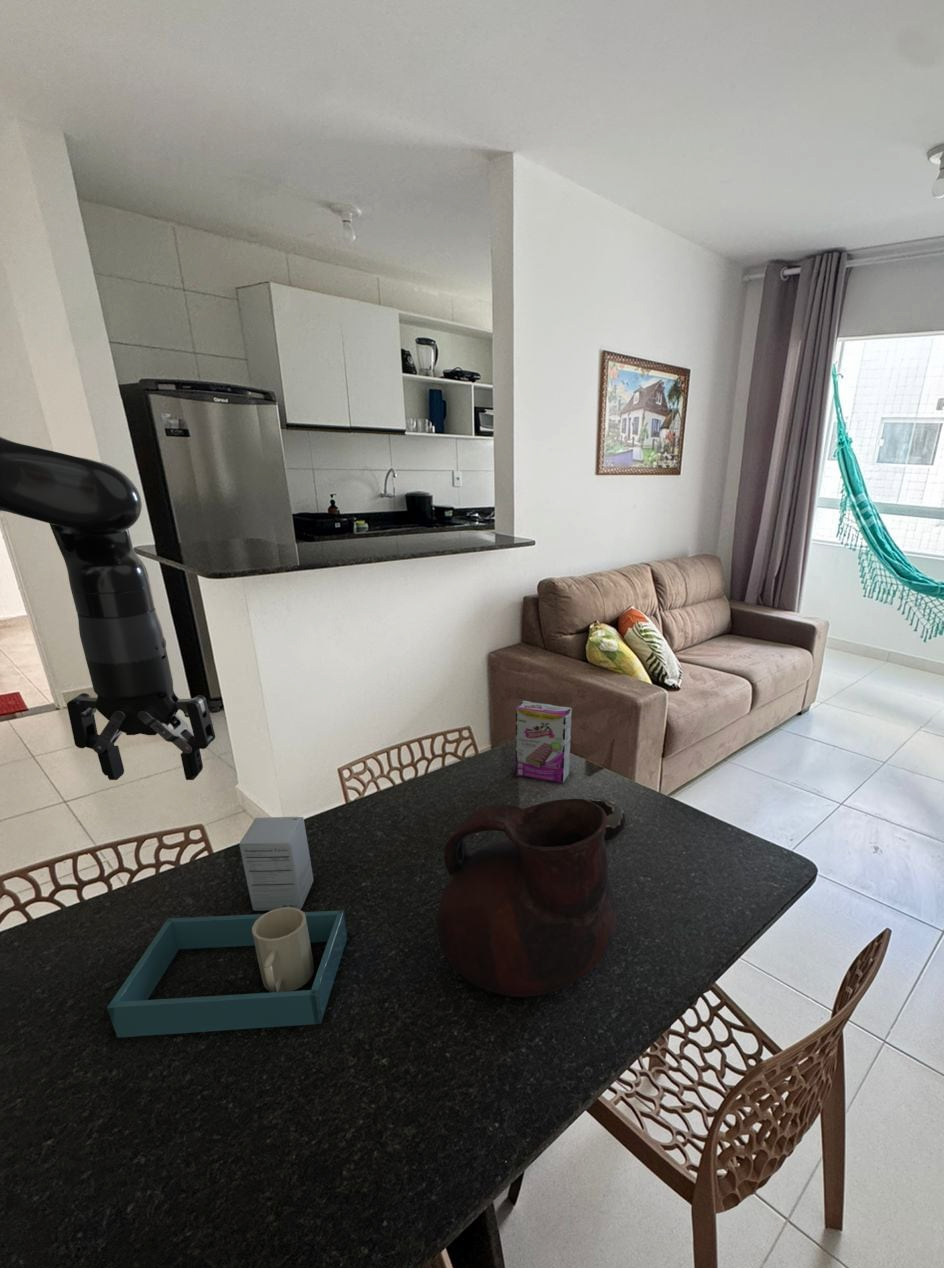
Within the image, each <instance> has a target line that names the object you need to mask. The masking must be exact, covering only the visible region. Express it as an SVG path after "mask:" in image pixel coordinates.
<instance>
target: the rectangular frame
mask: <svg viewBox="0 0 944 1268" xmlns="http://www.w3.org/2000/svg"><path fill="white" fill-rule="evenodd" d="M303 912H304V913H305V916H306V921H307V927H308V933H309V939H310V944H311V943H313V944H314V943H326V945H325V948H324V950H323V951H324V952H323V954H322V957H321V960H320V963H319V965H318V969H317V972H316V975H315V978H314V981H313V984H312V986H311V989H304V990H303V989H302V990H294V991H287V992H271V993H269V992H256V993H242V994H241V993H240V994H225V995H209V996H208V995H207V996H206V995H205V996H193V997H192V996H190V997H175V998H159V999H150V997H151V995H152V993H153V992H154V991H155V989H156V987H157V985H158V984H159V982H160V980H161V979H162V978H163V976H164V974H165V972H166V971H167V970H168V968H169V966H170V965H171V963H172V961H173V960H174V958H175V956H176V955H177V953H178V952H179V950H195V949H196V950H197V949H215V948H231V947H232V948H233V947H253V946H254V947H255V943H254V939H253V934H252V927H253V925H254V923H255V921H256V920H257V919H258V918H259V917H261V916H262V915H263V914H264V913H258V914H257V913H256V914H236V915H214V916H194V917H190V916H189V917H168V918H167V919H166V921H164V924H163V925H162V926H161V927H160V929H159V931H158V932H157V934H156V935H155V936H154V938H153V939H152V941H151V942H150V944H149V945H148V946H147V948H146V950H145V951H144V952H143V954H142V955H141V957H140V959H139V960H138V961H137V963H136V964H135V966H134V967H133V969H132V970H131V971H130V973H129V975H128V976H127V978H126V979H125V980H124V982H123V983H122V985H121V986H120V988H119V989H118V991H116V994H115V995H114V997H113V998H112V1000H111V1001H110V1003H109V1004H108V1005H107V1007H106V1008H107V1011H108V1015H109V1018H110V1020H111V1024H112V1026H113V1029H114V1032H115V1034H116V1038H119V1039H120V1038H133V1037H134V1038H135V1037H147V1036H148V1037H149V1036H163V1035H177V1034H189V1033H190V1034H192V1033H206V1032H207V1033H208V1032H219V1031H221V1032H222V1031H237V1030H250V1029H265V1028H278V1027H279V1028H280V1027H281V1028H282V1027H293V1026H308V1025H321V1024H322V1022H323V1018H324V1015H325V1012H326V1008H327V1006H328V1002H329V999H330V995H331V992H332V989H333V985H334V982H335V979H336V976H337V973H338V970H339V966H340V963H341V960H342V957H343V953H344V950H345V948H346V943H347V941H348V931H347V930H348V929H347V923H346V915H345V910H343V909H341V910H325V911H321V910H320V911H303Z"/></svg>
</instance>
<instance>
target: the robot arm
mask: <svg viewBox="0 0 944 1268" xmlns="http://www.w3.org/2000/svg"><path fill="white" fill-rule="evenodd" d="M142 507H143V503H142V498H141V494H140V493H139V490H138V488H137V487H136V485H135V484H134V483H133V481H132V480H131V479H130V478H129V477H128V476H127V475H126V474H125V473H124V472H122V471H121V470H120V469H117V468H116V467H115V466H111V465H109V464H107V463H104V462H101V461H97V460H94V459H90V458H86V457H82V456H75V455H70V454H67V453H62V452H58V451H54V450H50V449H47V448H46V449H45V448H41V447H37V446H32V445H28V444H24V443H20V442H16V441H13V440H10V439H8V438H5V437H2V436H0V512H6V513H10V514H13V515H17V516H20V517H24V518H28V519H32V520H35V521H39V522H43V523H46V524H49V525H50V529H51V532H52V534H53V537H54V540H55V541H56V544H57V547H58V549H59V551H60V554H61V556H62V559H63V561H64V564H65V567H66V570H67V577H68V583H69V586H70V587H69V588H70V592H71V595H72V600H73V603H74V608H75V611H76V616H77V621H78V631H79V632H78V633H79V638H80V643H81V646H82V650H83V654H84V658H85V661H86V665H87V666H86V667H87V669H88V674H89V677H90V682H91V685H92V689H93V692H94V693H95V694H96V695H97V696H96V697H91V696H90V695H89V694H88V693H86V692H83V693H80V694H78V695H77V696H75V697H73V698H72V699H71V700H69V701H68V702H66V708H67V713H68V718H69V723H70V728H71V733H72V737H73V743H74V746H76V747H77V748H78V749H86V748H87V749H90V750H93V752H95V753H96V755H97V757H98V761H99V764H100V768H101V772H102V774H103V775H104V776H106V777H107V779H108V780H109V781H118V780H119V779H120V778H121V777H122V776H123V775H124V774H125V767H124V763H123V759H122V756H121V752H120V748H119V745H115V744H116V742H117V741H118V739H119V738H120V737H121V735H122V734H123V733H124V734H125V735H126V736H137V735H145V736H157V735H159V736H160V737H161V738H162V739H163V740H164V741H166V742H168V743H172V744H173V745H174V746H175V747H176V748H178V749H179V751H181V753H180V759H181V763H182V764H181V765H182V768H183V773H184V778H185V781H194V780H195V779H196V778H197V777H198V776H199V775H200V773H201V772H202V771H203V768H204V765H203V764H204V763H203V760H202V754H201V750H206V749H207V748H208V747H209V745H210V744H211V743H212V742H214V740H215V739H216V734H215V729H214V726H213V725H214V724H213V722H212V716H211V713H210V710H209V705H208V702H207V698H206V697H205V696H204V695H201V694H198V695H196V696H195V697H193V698H179V697H178V696H177V694H176V693H175V691H174V679H173V674H172V669H171V665H170V660H169V656H168V650H167V641H166V638H165V636H164V631H163V627H162V624H161V621H160V618H159V616H158V613H157V609H156V605H155V600H154V595H153V590H152V586H151V581H150V577H149V574H148V570H147V567H146V566H145V564H144V562H143V560H142V559H141V557H139V555H137V553H136V551H135V549H134V546H133V543H132V542H133V541H132V537H131V534H130V531H129V529H130V528H131V527H133V526H134V525H135V524H136V523H137V521H138V520H139V518H140V516H141V513H142V510H143V509H142ZM178 711H181V712H182V713H183V714H184V717H185V718H188V719H189V722H190V726H191V729H190V728H189V724H188V723H187V722H186V721H185V720H184V719H183V718H182V717H181V716H179V715H178V714H177V713H178ZM97 712H99V714H101V716H103V717H104V718H105V719H106V720H107V723H106V725H105V726H104V728H103V730H102V731H101V732H100V733H99V732H98V728H97V723H96V718H95V713H97ZM169 725H170V726H172V728H170V726H169ZM98 733H99V734H98Z"/></svg>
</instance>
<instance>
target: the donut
mask: <svg viewBox="0 0 944 1268" xmlns="http://www.w3.org/2000/svg"><path fill="white" fill-rule="evenodd" d="M583 799H584V800H588V801H590V802H592V803H594V804H596V805H598V806H599V807H601V808H602V809H603V810H604V811H605V813H606V815H607V825H606V829H605V834H604V841H605V840H608V839H612V838H613V837H616V836H617V835H619V834H620V833H621V832H622V831H623V829H624V827H625V825H626V822H627V821H626V820H627V819H626V813H625V811H624V810H623V808H622V807H621V806H620V805H618V804H617V803H616V802H614V801H612V800H610V799H606V798H603V797H585V798H583Z"/></svg>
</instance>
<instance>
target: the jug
mask: <svg viewBox="0 0 944 1268" xmlns="http://www.w3.org/2000/svg"><path fill="white" fill-rule="evenodd" d="M584 799H585V798H562V799H554V800H553V799H552V800H548V801H544V802H540V803H536V804H534V805H531V806H528V807H519V806H517V805H511V804H505V803H502V804H499V803H498V804H496V803H495V804H491V805H487V806H483V807H480V808H478V809H476V810H475V811H473V812H471V813H470V814H469V815H467V817H465V818H464V819H463V820H462V821H461V822H460V824H459V825H458V826H457V828H456V829H455V831H454V833H453V834H452V835H451V837H450V838H449V839H448V841H447V842H446V844H445V847H444V854H443V855H444V857H443V859H444V865H445V867H446V870H447V873H448V876H449V879H448V880H447V882H446V884H445V886H444V889H443V891H442V893H441V896H440V900H439V901H440V902H439V905H438V910H437V913H436V914H437V915H436V933H437V938H438V941H439V945H440V947H441V950H442V952H443V954H444V956H445V957H446V959H447V960H448V962H449V963H450V965H451V966H452V967H453V968H454V969H455V970H456V972H457V973H459V975H461V976H462V977H463V978H465V980H467V981H469V982H471V983H472V984H473V985H476V986H477V987H479V988H481V989H483V990H486V991H488V992H492V993H494V994H498V995H502V996H506V997H518V998H526V997H529V998H530V997H537V996H543V995H545V994H546V995H547V994H549V993H552V992H555V991H558V990H560V989H563V988H565V987H567V986H569V985H572V984H573V983H575V982H576V981H578V980H580V979H581V978H584V977H585V976H587V975H588V974H589V973H590V972H591V971H593V970H594V969H595V967H596V966H597V965H598V964H600V962H601V961H602V959H603V958H604V956H605V954H606V953H607V951H608V949H609V947H610V945H611V943H612V940H613V937H614V933H615V929H616V924H617V920H618V906H617V900H616V899H617V898H616V896H615V895H616V894H615V891H614V887H613V886H612V884H611V881H610V879H609V857H608V849H607V846H606V843H605V840H604V834H605V829H606V825H607V815H606V813H605V811H604V810H603V809H602V808H601V807H599V806H598V805H596V804H594V803H592V802H590V801H588V800H584ZM487 831H488V832H490V831H491V832H492V831H496V832H497V831H498V832H503V833H505V835H506V838H502V839H499V840H496V841H494V842H491V843H488V844H486V845H484V846H481V847H480V848H477V849H476V850H474V851H472V850H470V849H469V848H468V847H467V845H466V841H465V838H466V837H468V836H470V835H473V834H476V833H481V832H487Z"/></svg>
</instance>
